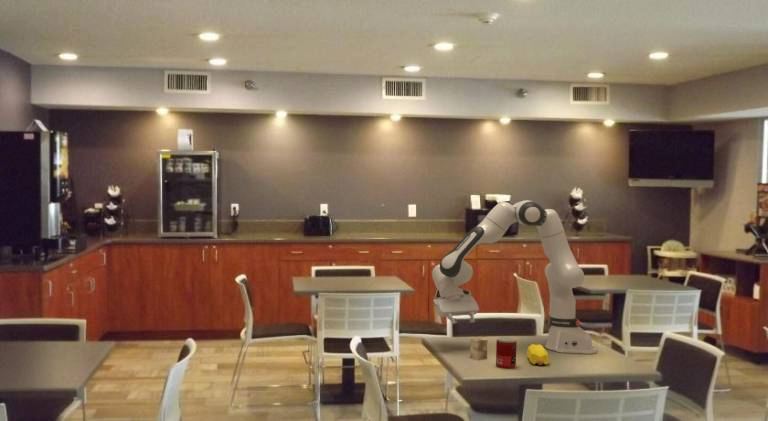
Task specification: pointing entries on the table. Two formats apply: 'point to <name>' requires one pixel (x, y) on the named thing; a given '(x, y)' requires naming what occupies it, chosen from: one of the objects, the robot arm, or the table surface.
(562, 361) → the table surface
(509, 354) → the canned food
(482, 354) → the beige cylinder
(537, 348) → the yellow lumpy piece
